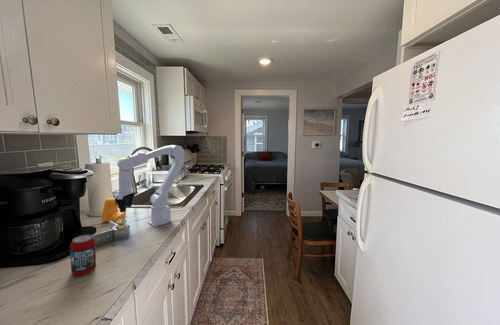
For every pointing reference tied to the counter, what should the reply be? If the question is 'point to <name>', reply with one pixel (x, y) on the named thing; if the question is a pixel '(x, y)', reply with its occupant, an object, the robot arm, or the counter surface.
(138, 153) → the robot arm
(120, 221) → the hinge pin
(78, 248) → the beverage can
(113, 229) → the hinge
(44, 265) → the counter surface
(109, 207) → the bracket
